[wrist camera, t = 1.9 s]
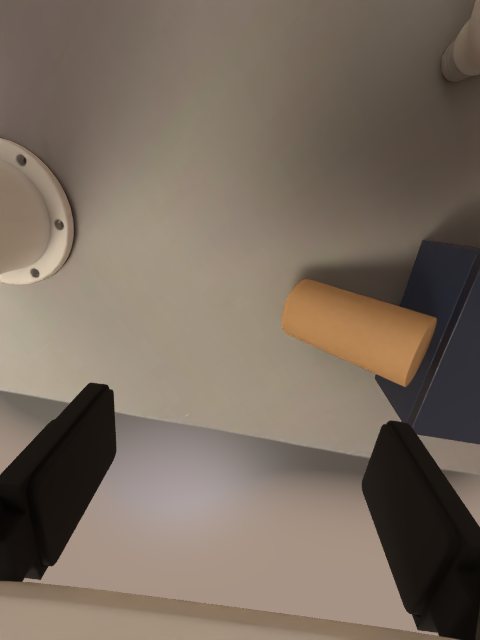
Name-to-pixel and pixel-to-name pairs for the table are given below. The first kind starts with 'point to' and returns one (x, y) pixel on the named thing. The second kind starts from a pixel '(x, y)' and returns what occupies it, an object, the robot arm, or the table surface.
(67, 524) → the robot arm
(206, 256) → the table surface
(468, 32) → the lightbulb
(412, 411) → the navy box
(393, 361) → the orange-brown cylinder
